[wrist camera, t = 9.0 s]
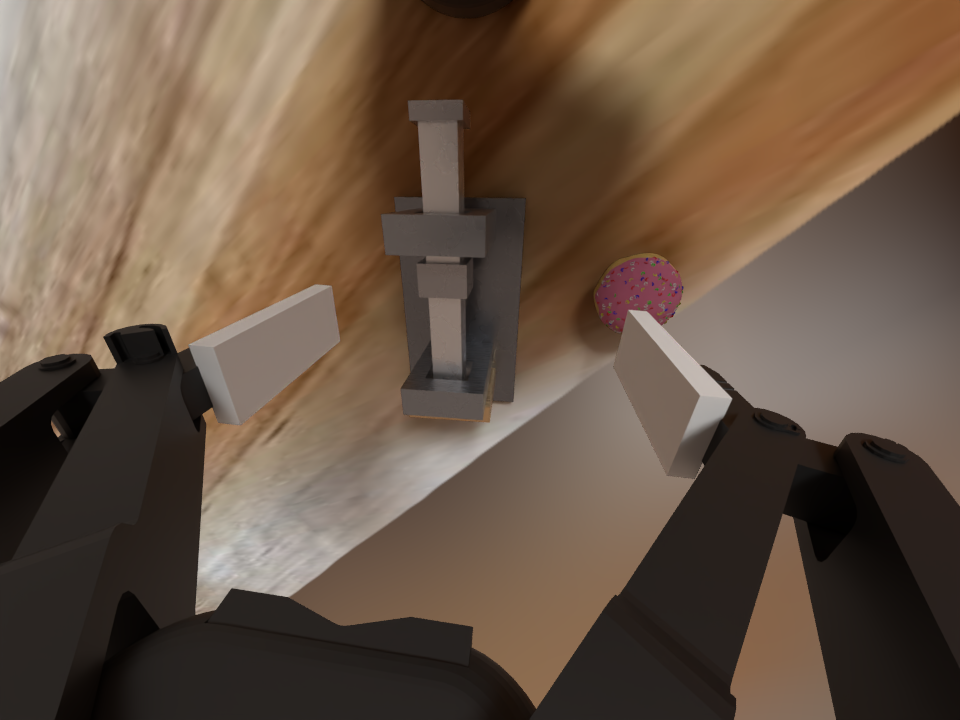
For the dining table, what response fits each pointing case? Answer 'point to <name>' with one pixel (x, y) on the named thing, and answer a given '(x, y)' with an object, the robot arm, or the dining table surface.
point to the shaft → (444, 194)
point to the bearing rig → (489, 307)
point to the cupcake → (638, 290)
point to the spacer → (487, 406)
